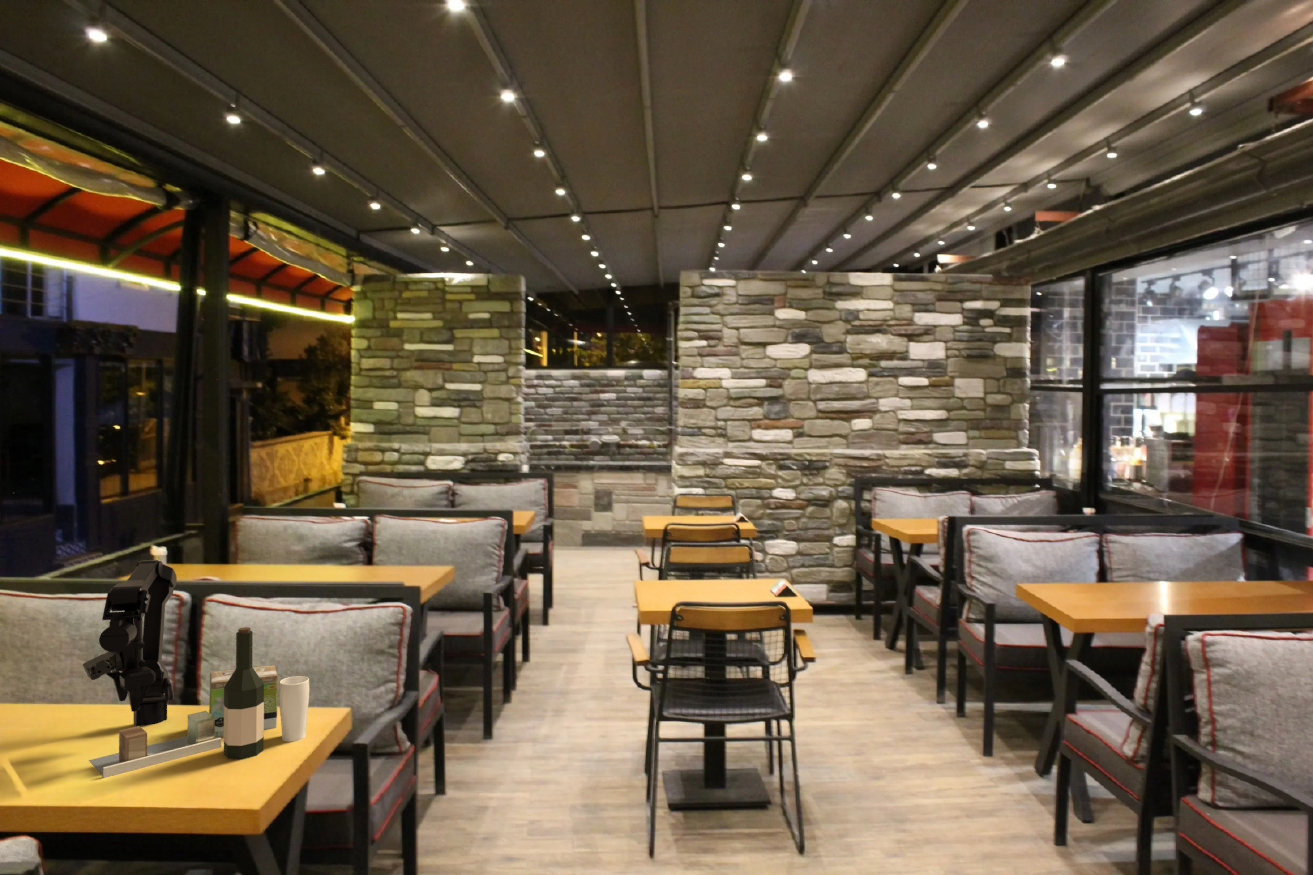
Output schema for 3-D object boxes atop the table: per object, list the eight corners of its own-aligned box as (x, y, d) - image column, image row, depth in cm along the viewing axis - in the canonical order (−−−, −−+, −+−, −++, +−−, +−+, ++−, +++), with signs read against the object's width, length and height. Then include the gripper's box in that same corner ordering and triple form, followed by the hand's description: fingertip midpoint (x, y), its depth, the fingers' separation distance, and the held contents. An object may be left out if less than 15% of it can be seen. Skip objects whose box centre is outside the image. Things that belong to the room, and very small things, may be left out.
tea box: (209, 742, 196) (209, 682, 196) (208, 729, 205) (208, 671, 205) (277, 731, 204) (278, 673, 204) (274, 718, 213) (274, 662, 212)
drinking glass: (315, 737, 200) (315, 677, 200) (294, 748, 194) (295, 685, 193) (293, 734, 202) (293, 674, 202) (272, 744, 196) (272, 682, 196)
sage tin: (187, 743, 193) (187, 714, 193) (205, 739, 196) (205, 710, 196) (196, 751, 189) (196, 721, 189) (214, 746, 192) (214, 717, 191)
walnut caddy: (119, 761, 183) (119, 730, 183) (139, 756, 186) (139, 725, 185) (126, 769, 178) (126, 737, 178) (147, 764, 181) (147, 733, 181)
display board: (202, 735, 200) (202, 723, 200) (221, 750, 191) (221, 738, 191) (89, 764, 183) (89, 751, 183) (104, 782, 174) (104, 768, 174)
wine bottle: (271, 753, 191) (272, 626, 190) (240, 766, 183) (240, 634, 182) (247, 746, 194) (247, 622, 193) (215, 759, 186) (215, 630, 186)
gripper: (75, 638, 188) (76, 704, 188) (98, 655, 175) (98, 726, 176) (130, 629, 196) (131, 692, 197) (156, 645, 184) (156, 713, 184)
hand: (128, 705), depth 188 cm, fingers open, 9 cm apart
